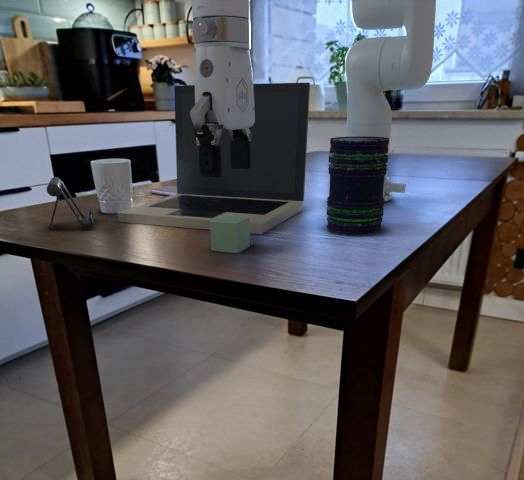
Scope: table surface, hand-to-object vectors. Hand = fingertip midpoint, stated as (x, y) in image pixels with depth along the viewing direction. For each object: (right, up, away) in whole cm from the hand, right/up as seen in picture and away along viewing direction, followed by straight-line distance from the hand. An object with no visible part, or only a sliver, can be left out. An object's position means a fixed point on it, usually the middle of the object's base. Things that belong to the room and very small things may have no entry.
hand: (226, 172), depth 76 cm
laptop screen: (0, +17, +32) cm, 36 cm away
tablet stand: (-31, -3, +21) cm, 37 cm away
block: (0, -10, +5) cm, 12 cm away
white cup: (-26, +3, +34) cm, 42 cm away
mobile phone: (-15, +12, +51) cm, 55 cm away
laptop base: (-5, +1, +28) cm, 28 cm away
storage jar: (+21, -5, +16) cm, 27 cm away
